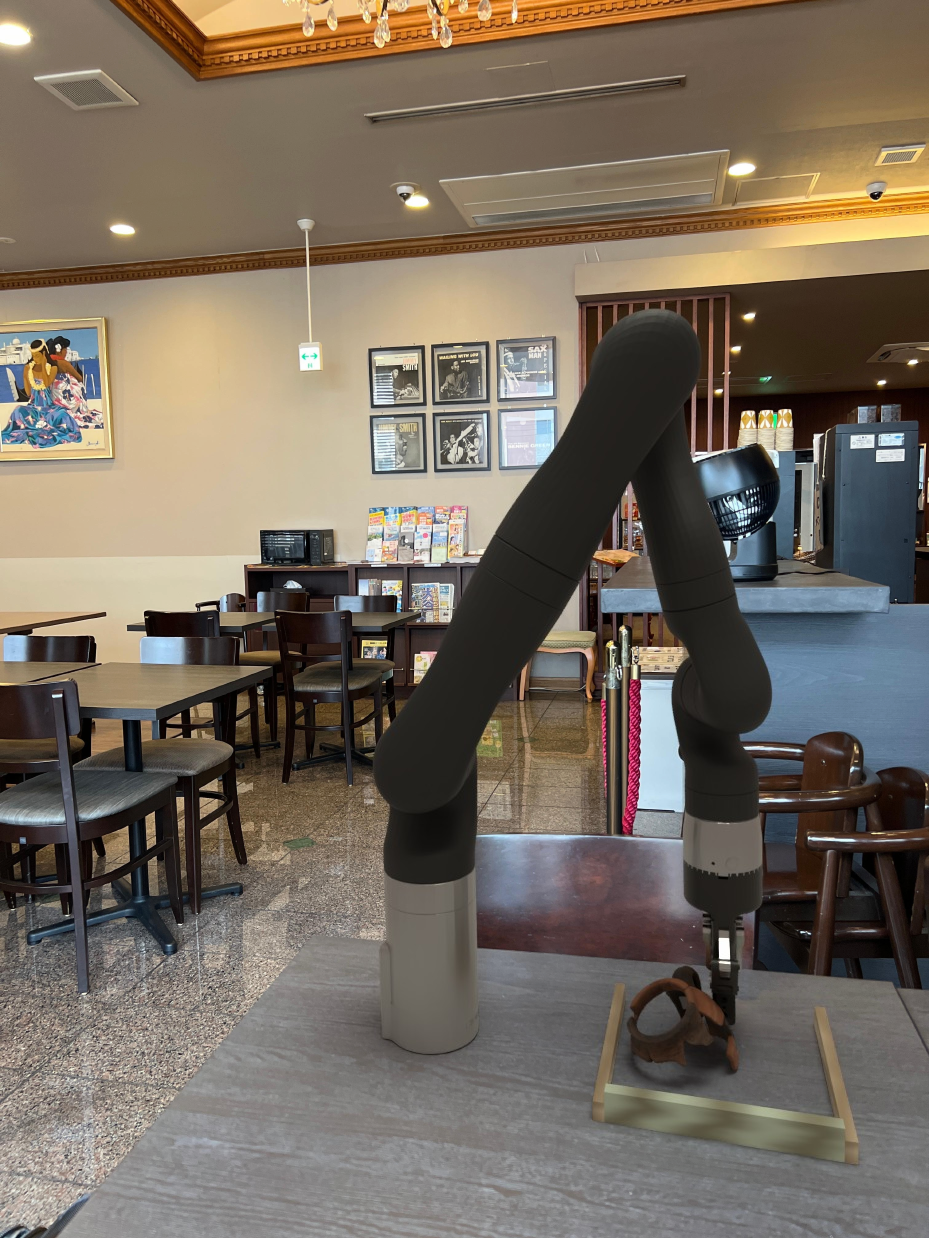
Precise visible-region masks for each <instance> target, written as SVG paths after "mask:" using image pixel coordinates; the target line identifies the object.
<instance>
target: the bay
mask: <svg viewBox="0 0 929 1238" xmlns="http://www.w3.org/2000/svg"><path fill="white" fill-rule="evenodd" d="M612 995H613V996H612V1001H611V1007H610V1011H609V1017H608V1021H607V1025H606V1031H605V1035H604V1042H603V1046H602V1051H601V1056H600V1061H599V1067H598V1071H597V1077H596V1081H595V1086H594V1092H593V1097H592V1121H594V1122H596V1121H597V1122H600V1123H601V1122H602V1123H608V1124H613V1125H619V1126H624V1127H630V1128H637V1129H643V1130H649V1131H653V1132H654V1131H655V1132H659V1133H667V1134H673V1135H679V1136H685V1137H691V1138H695V1139H702V1140H709V1141H713V1142H714V1141H715V1142H721V1143H725V1144H731V1145H732V1144H733V1145H739V1146H744V1147H750V1148H757V1149H761V1150H769V1151H774V1152H780V1153H786V1154H792V1155H797V1156H803V1157H810V1158H816V1159H822V1160H827V1161H835V1162H840V1163H846V1164H852V1165H859V1149H860V1148H859V1147H860V1146H859V1145H860V1142H859V1139H858V1133H857V1130H856V1127H855V1122H854V1119H853V1115H852V1114H853V1113H852V1109H851V1107H850V1102H849V1098H848V1095H847V1094H848V1093H847V1090H846V1086H845V1082H844V1079H843V1078H844V1077H843V1074H842V1070H841V1066H840V1063H839V1059H838V1053H837V1049H836V1045H835V1042H834V1037H833V1034H832V1030H831V1026H830V1023H829V1022H830V1021H829V1019H828V1014H827V1010H826V1007H823V1006H814V1010H813V1011H814V1013H813V1014H814V1015H813V1017H814V1018H813V1019H814V1020H813V1026H814V1031H815V1034H816V1040H817V1045H818V1048H819V1053H820V1058H821V1063H822V1067H823V1071H824V1076H825V1080H826V1085H827V1090H828V1094H829V1095H828V1096H829V1098H830V1099H829V1101H830V1105H831V1109H832V1113H833V1116H826V1115H820V1114H813V1113H806V1112H800V1111H793V1110H785V1109H780V1108H774V1107H773V1108H771V1107H765V1106H759V1105H754V1104H753V1105H752V1104H747V1103H741V1102H740V1103H739V1102H732V1101H727V1100H718V1099H714V1098H708V1097H707V1098H706V1097H698V1096H692V1095H686V1094H679V1093H674V1092H666V1091H658V1090H653V1089H646V1088H640V1087H634V1086H627V1085H626V1086H625V1085H621V1084H620V1085H619V1084H614V1083H612V1081H613V1075H614V1071H615V1070H614V1069H615V1064H616V1058H617V1052H618V1047H619V1041H620V1036H621V1030H622V1024H623V1018H624V1013H625V1012H624V1011H625V1007H626V983H623V982H615V985H614V990H613V994H612Z"/></svg>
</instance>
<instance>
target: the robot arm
mask: <svg viewBox="0 0 929 1238" xmlns="http://www.w3.org/2000/svg"><path fill="white" fill-rule="evenodd" d="M701 368H702V349H701V345H700V341H699V337H698V335H697V332H696V331H695V329H694V327H693V326H692V325H691V323H690V322H689V321H688V320H687V319H686V318H685V317H683V316H682V315H681V314H679V313H677V312H676V311H672V310H669V309H663V308H649V309H642V310H639V311H635V312H632V313H631V314H628V315H626V316H624V317H622V318H621V319H619V320H618V321H616V322H615V323H614V324H613V325H612V326H611V327H610V328H609V329H608V330H607V332H606V333H605V334H604V335H603V337H602V338H601V339H600V341H599V342H598V344H597V345H596V347H595V348H594V351H593V353H592V356H591V361H590V364H589V376H588V378H587V379H588V380H587V382H586V383H585V386H584V388H583V391H582V393H581V396H580V397H579V400H578V402H577V404H576V406H575V408H574V410H573V413H572V415H571V417H570V419H569V420H568V424H567V425H566V427H565V429H564V431H563V432H562V434H561V437H560V438H559V440H558V442H557V443H556V445H555V447H554V448H553V449H552V451H551V452H550V453H549V455H548V456H547V457H546V459H545V460H544V461H543V463H542V464H541V466H539V468H538V469H537V471H536V472H535V473H534V475H533V476H532V477H531V478H530V479H529V481H528V482H527V484H526V485H525V486H524V487H523V490H522V491H521V492H520V493H519V494H518V496H517V497H516V499H514V502H513V503H512V505H511V506H510V507H509V510H508V511H507V513H506V514H505V515H504V517H503V518H502V519H501V522H500V524H498V526H497V528H496V530H495V531H494V534H493V535H492V538H491V539H490V541H489V543H488V545H487V546H486V549H485V551H484V552H483V553H482V556H481V557H480V559H479V561H478V562H477V565H476V566H475V569H474V571H473V573H472V575H471V577H470V579H469V581H468V583H467V585H466V587H465V589H464V591H463V593H462V595H461V597H460V599H459V601H458V604H457V606H456V608H455V610H454V611H453V614H452V616H451V618H450V620H449V623H448V625H447V628H446V631H445V633H444V635H443V638H442V640H441V643H440V645H439V647H438V649H437V651H436V653H435V656H434V658H433V659H432V662H431V663H430V665H429V667H428V669H427V671H426V672H425V673H424V675H423V677H422V678H421V680H420V681H419V683H418V684H417V686H416V687H415V688H414V690H413V692H412V693H411V695H410V696H409V698H408V699H407V700H406V702H405V703H404V705H403V706H402V708H401V709H400V711H399V712H398V714H397V715H396V717H395V718H394V719H393V720H392V722H391V723H390V724H389V726H388V727H387V728H385V730H384V731H383V733H382V734H381V736H380V737H379V739H378V741H377V743H376V745H375V748H374V751H373V756H372V757H373V758H372V775H373V779H374V783H375V786H376V789H377V791H378V793H379V794H380V795H381V797H382V798H383V800H384V801H385V802H386V803H387V804H388V805H389V812H388V820H387V822H388V823H387V826H386V832H385V835H384V840H383V846H382V847H383V848H382V850H383V851H382V859H383V860H382V861H383V885H384V912H385V913H384V916H385V940H384V941H383V943H381V945H380V947H379V949H378V957H379V958H378V959H379V961H378V963H379V964H378V965H379V986H380V987H379V989H380V990H379V992H380V1016H381V1017H380V1018H381V1038H382V1039H385V1040H386V1039H387V1040H391V1041H392V1042H394V1043H395V1044H396V1045H397V1046H398V1047H400V1048H402V1049H404V1050H406V1051H410V1052H413V1053H417V1054H423V1055H436V1054H438V1055H439V1054H445V1053H448V1052H453V1051H456V1050H458V1049H461V1048H463V1047H465V1046H467V1045H469V1043H470V1042H472V1041H473V1040H474V1039H475V1038H476V1036H477V1034H478V1032H479V1028H480V1025H479V1023H480V1022H479V1017H480V1016H479V1013H480V1005H479V978H478V977H479V976H478V974H479V973H478V971H479V970H478V967H479V965H478V931H477V930H478V929H477V886H476V885H477V883H476V882H477V880H476V879H477V878H476V843H477V835H478V834H477V833H478V820H479V819H478V817H479V816H478V812H479V810H478V807H479V806H478V795H479V794H478V752H477V751H478V750H477V747H478V745H479V744H480V741H481V739H482V736H483V734H484V732H485V730H486V728H487V726H488V723H490V720H491V718H492V715H493V714H494V712H495V710H496V709H497V707H498V705H499V703H500V702H501V700H502V698H503V697H504V695H505V694H506V692H507V691H508V689H509V688H510V687H511V685H513V683H514V681H515V680H516V679H517V678H518V676H519V675H520V673H522V671H523V670H524V669H525V667H526V666H527V664H528V663H529V662H530V661H531V659H532V658H533V656H534V655H535V654H536V652H537V651H538V650H539V648H540V647H541V646H542V644H543V643H544V642H545V639H546V638H548V636H549V634H550V633H551V630H552V629H553V628H554V626H555V625H556V623H557V622H558V620H559V619H560V617H561V616H562V614H563V612H564V610H565V609H566V607H567V606H568V604H569V602H570V600H571V598H572V597H573V595H574V593H575V592H576V590H577V589H578V586H579V585H580V582H581V581H582V579H583V578H584V576H585V573H586V572H587V569H588V568H589V565H591V562H592V561H593V558H594V556H595V554H596V552H597V551H598V548H599V546H600V545H601V543H602V541H603V539H604V537H605V535H606V533H607V530H608V529H609V526H610V525H611V522H612V520H613V517H614V515H615V513H616V512H617V510H618V506H619V505H620V502H621V500H622V498H623V496H624V494H625V492H626V490H627V489H628V486H629V484H631V485H630V486H631V487H632V492H633V495H634V499H635V502H636V506H637V509H638V510H637V511H638V515H639V519H640V521H641V522H640V523H641V527H642V532H643V536H644V541H645V545H646V549H647V554H648V559H649V563H650V566H651V571H652V575H653V579H654V584H655V587H656V592H657V595H658V596H657V597H658V600H659V603H660V609H661V611H662V616H663V620H664V622H665V624H666V627H667V629H668V631H669V632H670V634H672V636H674V637H675V639H677V640H679V641H680V642H681V643H682V644H683V645H684V647H685V649H686V651H687V654H688V657H686V658H685V659H684V660H682V662H681V663H680V665H679V666H678V667H677V669H676V672H675V673H674V677H673V679H672V684H671V693H670V694H671V695H670V696H671V711H672V717H673V722H674V726H675V731H676V736H677V741H678V747H679V750H680V754H681V756H682V761H683V765H684V820H683V825H682V826H683V828H682V865H683V866H682V867H683V868H682V869H683V874H682V875H683V877H682V878H683V881H682V882H683V897H684V899H685V901H686V902H687V904H688V905H690V906H691V907H692V908H695V909H696V910H698V911H702V941H703V943H704V945H705V967H706V969H707V970H709V972H708V973H709V978H710V979H709V989H710V991H711V994H712V995H711V998H712V999H713V1000H714V1001H715V1002H716V1004H717V1005H718V1006H719V1007H720V1008H721V1010H722V1011H723V1014H724V1015H725V1017H726V1019H727V1022H728V1023H729V1025H730V1027H731V1026H734V1025H736V1019H737V1018H736V1013H737V1011H736V996H738V992H740V987H739V973H741V972H742V970H743V947H744V946H745V926H744V915H748V914H752V913H754V912H755V911H756V910H758V909H759V908H760V907H761V906H762V904H763V899H764V898H763V833H762V826H761V819H760V775H759V773H760V772H759V768H758V767H759V766H758V764H757V762H756V760H755V758H754V757H753V756H752V755H751V754H750V753H749V752H748V750H747V749H746V748H745V747H744V745H743V743H742V742H741V741H742V740H741V736H740V735H744V734H748V733H751V732H753V731H755V730H757V729H758V728H759V727H760V726H761V725H762V724H763V723H764V722H765V721H766V719H767V717H768V715H769V713H770V711H771V706H772V702H773V701H772V700H773V685H772V678H771V675H770V672H769V668H768V666H767V663H766V661H765V659H764V657H763V654H762V652H761V650H760V648H759V646H758V643H757V641H756V639H755V637H754V634H753V632H752V629H751V628H750V627H749V625H748V623H747V620H746V619H745V617H744V615H743V614H742V612H741V610H740V607H739V606H740V605H739V602H738V600H739V599H738V595H737V592H736V586H735V583H734V579H733V574H732V570H731V566H730V561H729V558H728V554H727V550H726V546H725V543H724V539H723V536H722V533H721V531H720V528H719V525H718V523H717V520H716V518H715V515H714V513H713V511H712V508H711V506H710V504H709V501H708V499H707V497H706V495H705V492H704V489H703V487H702V484H701V482H700V478H699V476H698V474H697V471H696V466H695V464H694V460H693V457H692V453H691V448H690V444H689V439H688V434H687V433H688V432H687V428H686V427H687V426H686V418H685V417H686V416H685V406H684V404H685V403H686V402H687V400H688V399H689V398H690V397H691V395H692V394H693V392H694V390H695V388H696V386H697V384H698V382H699V377H700V373H701Z"/></svg>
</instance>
